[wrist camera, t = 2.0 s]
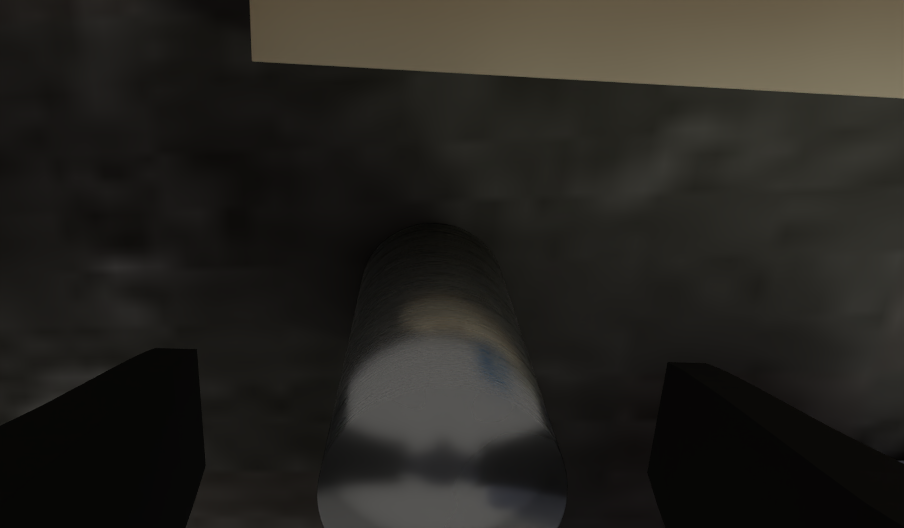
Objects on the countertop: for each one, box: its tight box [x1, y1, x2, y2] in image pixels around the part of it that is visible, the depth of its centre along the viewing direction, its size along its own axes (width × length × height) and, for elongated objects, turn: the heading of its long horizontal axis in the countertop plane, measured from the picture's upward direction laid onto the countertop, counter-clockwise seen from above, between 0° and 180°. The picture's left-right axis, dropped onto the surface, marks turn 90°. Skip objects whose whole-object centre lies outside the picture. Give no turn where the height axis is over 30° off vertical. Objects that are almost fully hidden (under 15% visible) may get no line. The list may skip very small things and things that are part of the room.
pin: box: [317, 223, 568, 528], centre depth 12 cm, size 3×3×7 cm
